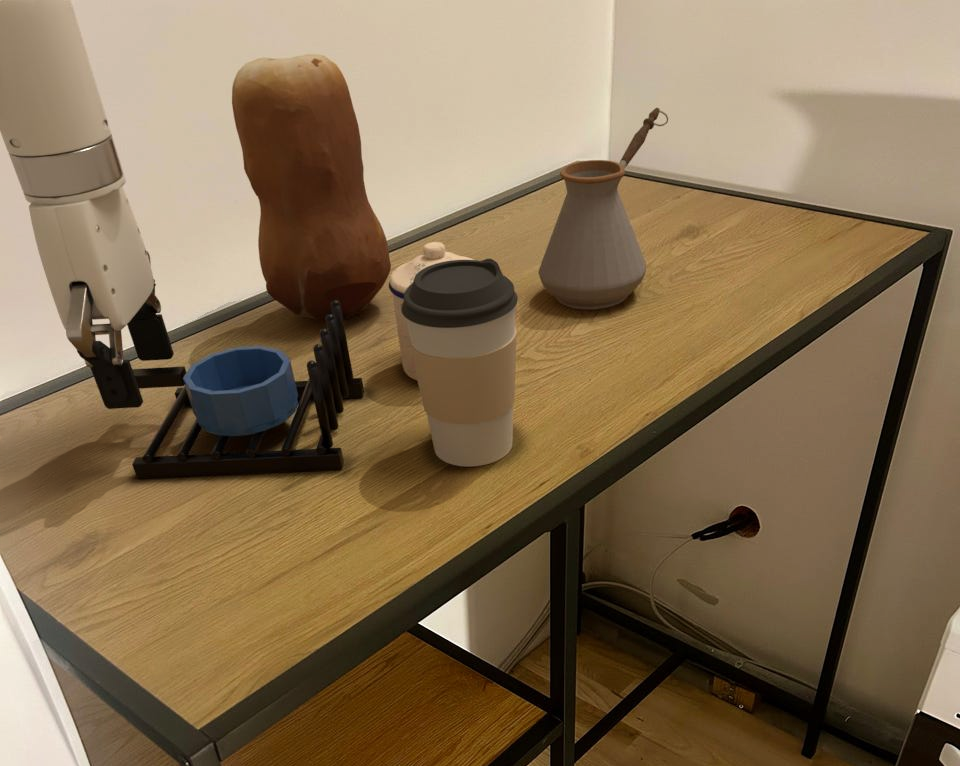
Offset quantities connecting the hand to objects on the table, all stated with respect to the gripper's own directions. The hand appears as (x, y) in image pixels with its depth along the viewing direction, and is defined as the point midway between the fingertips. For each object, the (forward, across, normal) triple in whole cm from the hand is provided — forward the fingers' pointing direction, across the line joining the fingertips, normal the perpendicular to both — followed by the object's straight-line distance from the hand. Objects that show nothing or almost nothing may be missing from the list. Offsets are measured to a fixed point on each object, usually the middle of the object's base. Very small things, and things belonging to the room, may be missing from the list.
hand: (141, 381), depth 84 cm
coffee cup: (+6, +4, +29) cm, 30 cm away
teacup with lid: (+6, -12, +27) cm, 30 cm away
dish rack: (+6, 0, +9) cm, 11 cm away
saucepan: (+3, 0, +5) cm, 6 cm away
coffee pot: (+6, -31, +43) cm, 53 cm away
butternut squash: (+6, -26, +12) cm, 29 cm away
